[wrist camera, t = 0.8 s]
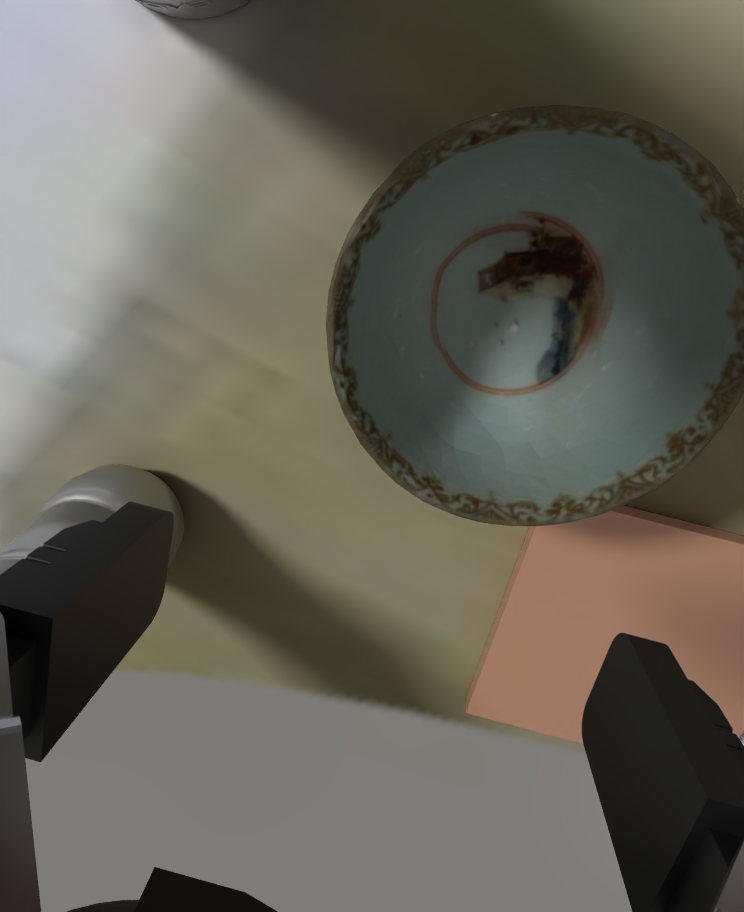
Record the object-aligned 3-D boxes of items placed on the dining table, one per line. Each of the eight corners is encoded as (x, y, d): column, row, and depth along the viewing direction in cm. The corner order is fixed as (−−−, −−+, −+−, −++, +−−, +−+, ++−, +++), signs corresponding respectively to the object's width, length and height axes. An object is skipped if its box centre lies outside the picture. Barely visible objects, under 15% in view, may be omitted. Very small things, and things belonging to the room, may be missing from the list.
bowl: (642, 65, 24) (726, 7, 16) (710, 393, 28) (800, 464, 21) (312, 206, 27) (257, 212, 20) (418, 479, 31) (405, 568, 24)
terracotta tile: (545, 485, 30) (547, 494, 30) (833, 558, 30) (844, 569, 29) (465, 699, 36) (465, 713, 35) (707, 763, 36) (713, 778, 35)
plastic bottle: (221, 531, 34) (-60, 935, 15) (125, 576, 36) (-226, 980, 17) (151, 430, 32) (-259, 750, 14) (54, 482, 34) (-420, 823, 16)
